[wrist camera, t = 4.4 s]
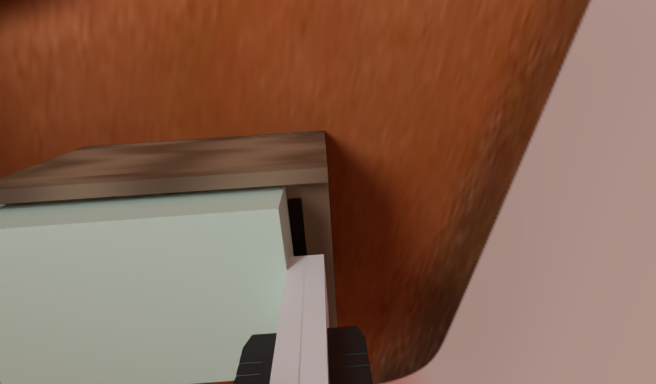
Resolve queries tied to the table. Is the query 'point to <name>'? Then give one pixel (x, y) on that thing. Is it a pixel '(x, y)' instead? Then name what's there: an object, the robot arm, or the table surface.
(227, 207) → the lid
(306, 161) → the box
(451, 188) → the table surface
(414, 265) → the table surface
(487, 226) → the table surface
